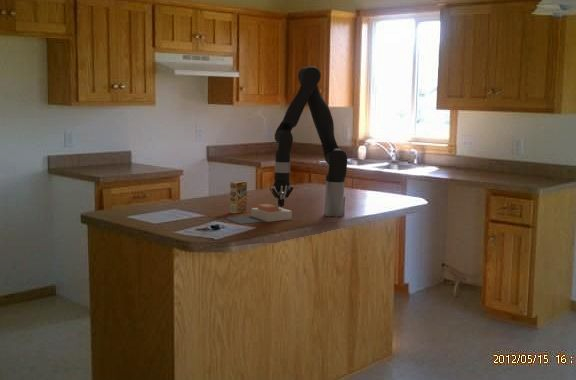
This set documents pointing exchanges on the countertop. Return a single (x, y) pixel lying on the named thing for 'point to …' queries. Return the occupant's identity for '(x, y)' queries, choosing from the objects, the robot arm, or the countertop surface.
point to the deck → (271, 214)
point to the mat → (245, 220)
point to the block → (268, 207)
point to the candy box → (238, 197)
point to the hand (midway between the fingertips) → (280, 206)
